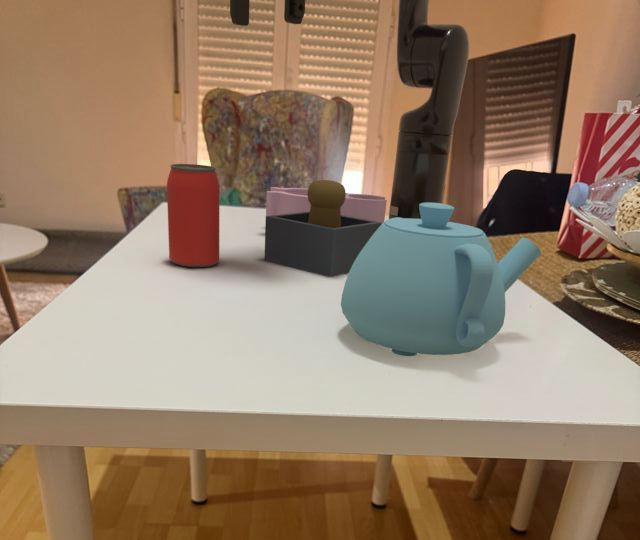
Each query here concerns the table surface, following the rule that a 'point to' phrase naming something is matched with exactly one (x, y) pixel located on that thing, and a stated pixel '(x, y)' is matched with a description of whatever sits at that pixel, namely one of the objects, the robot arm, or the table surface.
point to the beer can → (193, 215)
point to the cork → (326, 203)
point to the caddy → (316, 242)
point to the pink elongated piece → (298, 202)
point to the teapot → (431, 285)
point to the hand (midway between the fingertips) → (265, 24)
